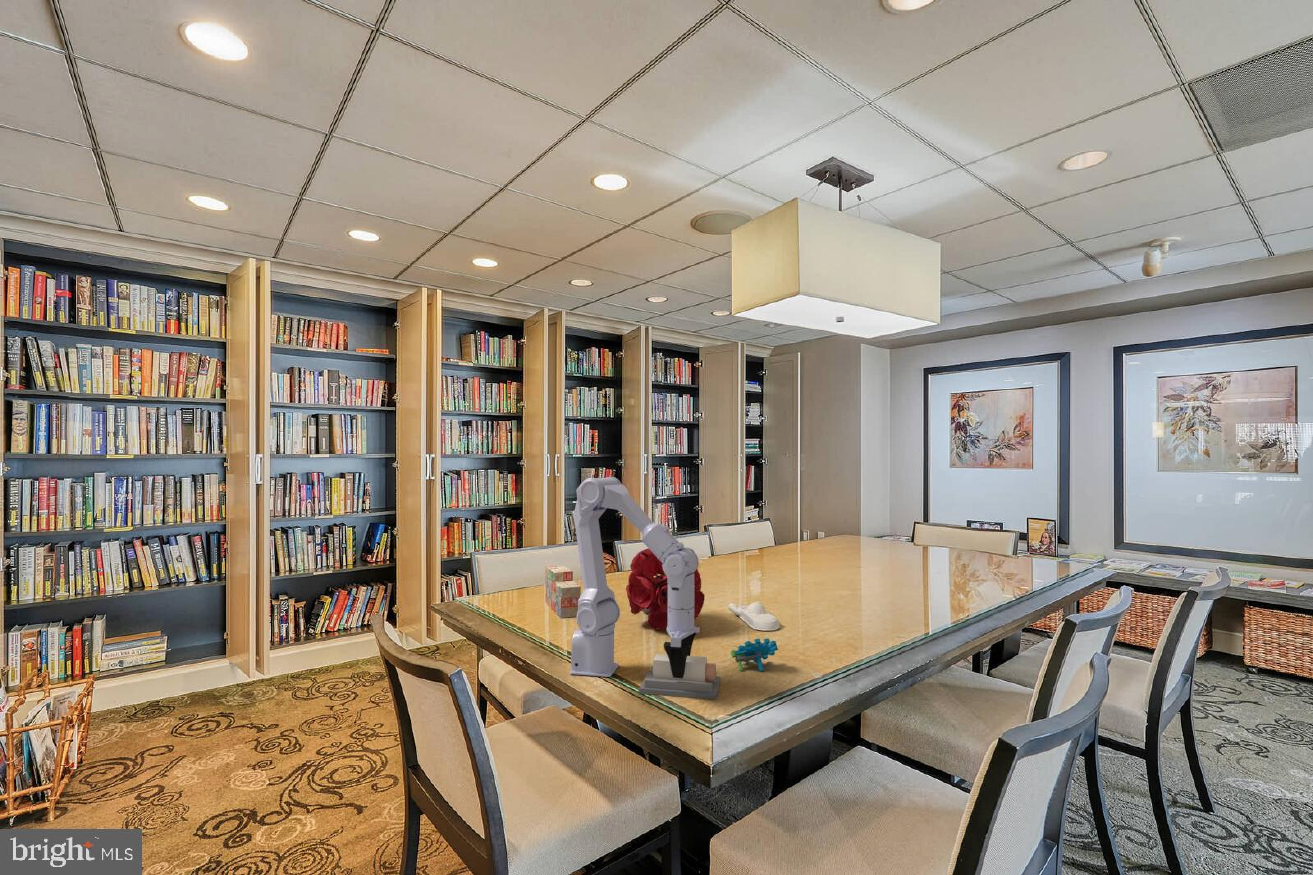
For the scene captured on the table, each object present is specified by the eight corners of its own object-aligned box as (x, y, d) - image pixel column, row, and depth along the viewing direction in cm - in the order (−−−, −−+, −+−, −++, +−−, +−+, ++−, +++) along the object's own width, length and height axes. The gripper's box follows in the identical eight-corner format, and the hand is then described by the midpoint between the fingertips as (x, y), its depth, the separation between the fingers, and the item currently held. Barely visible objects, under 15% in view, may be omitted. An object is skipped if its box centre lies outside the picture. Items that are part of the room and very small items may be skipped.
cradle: (639, 693, 123) (639, 681, 123) (648, 675, 133) (648, 664, 133) (716, 699, 120) (716, 687, 120) (720, 681, 130) (720, 669, 130)
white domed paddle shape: (752, 633, 165) (752, 612, 165) (728, 614, 184) (728, 595, 184) (787, 631, 167) (787, 610, 167) (759, 613, 187) (759, 594, 187)
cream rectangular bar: (652, 683, 125) (653, 660, 126) (656, 676, 129) (656, 653, 129) (714, 688, 123) (714, 664, 123) (716, 681, 127) (716, 657, 127)
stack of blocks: (580, 616, 181) (580, 576, 182) (560, 619, 179) (560, 577, 179) (563, 600, 201) (563, 564, 201) (544, 602, 198) (545, 565, 199)
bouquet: (613, 642, 177) (640, 614, 153) (610, 566, 189) (634, 529, 165) (681, 641, 183) (717, 614, 159) (674, 567, 195) (706, 532, 171)
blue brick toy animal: (775, 653, 143) (777, 632, 136) (781, 677, 139) (784, 657, 132) (729, 660, 143) (730, 639, 136) (735, 684, 138) (735, 664, 132)
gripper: (695, 616, 119) (695, 685, 119) (703, 599, 133) (703, 660, 133) (660, 614, 120) (660, 682, 120) (672, 597, 134) (672, 658, 134)
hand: (680, 670), depth 126 cm, fingers open, 7 cm apart
